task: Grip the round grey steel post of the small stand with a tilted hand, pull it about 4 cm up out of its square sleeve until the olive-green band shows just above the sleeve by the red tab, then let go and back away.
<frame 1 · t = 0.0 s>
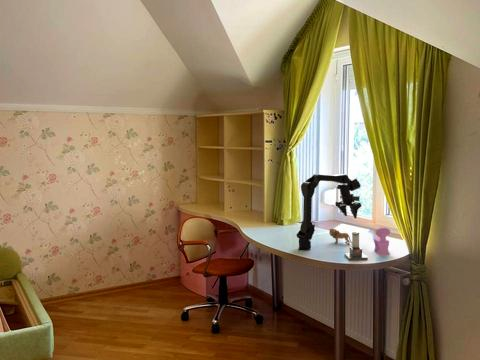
hand: (350, 217, 288), 15 cm above the table, tool pointing down, fingers open, 9 cm apart
lion figurine: (340, 243, 286), on the table
pink figurine: (381, 253, 261), on the table
stand base: (355, 257, 252), on the table
steel post: (355, 244, 251), point 8 cm above the table, slide at 0.0 cm
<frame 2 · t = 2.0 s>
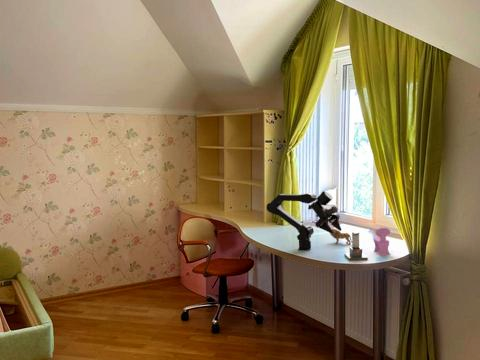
hand: (336, 231, 261), 13 cm above the table, tool tilted 45°, fingers open, 9 cm apart
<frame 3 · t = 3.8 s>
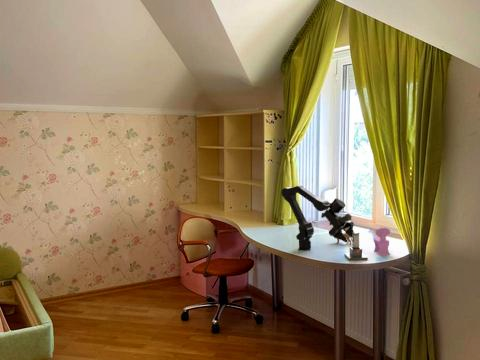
hand: (351, 240, 253), 9 cm above the table, tool tilted 45°, fingers open, 9 cm apart
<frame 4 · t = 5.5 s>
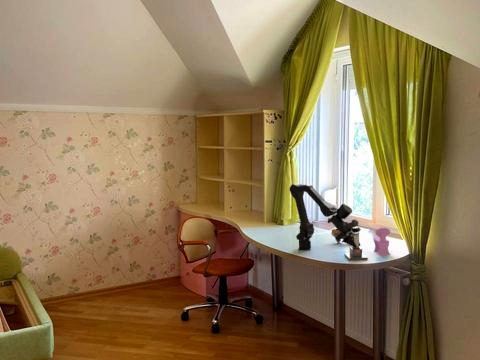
hand: (358, 246, 250), 7 cm above the table, tool tilted 45°, fingers closed on steel post, 4 cm apart
steel post: (355, 244, 251), point 8 cm above the table, slide at 0.0 cm, touching gripper
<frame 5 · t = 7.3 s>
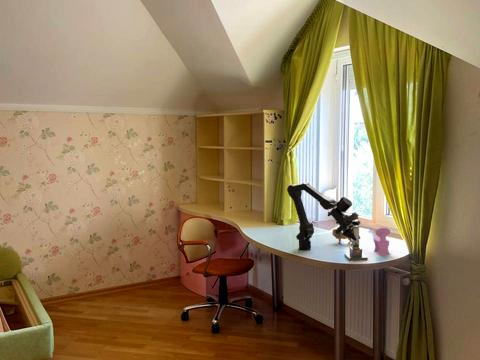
hand: (357, 239, 250), 10 cm above the table, tool tilted 45°, fingers closed on steel post, 4 cm apart
steel post: (355, 237, 251), point 12 cm above the table, slide at 3.8 cm, touching gripper
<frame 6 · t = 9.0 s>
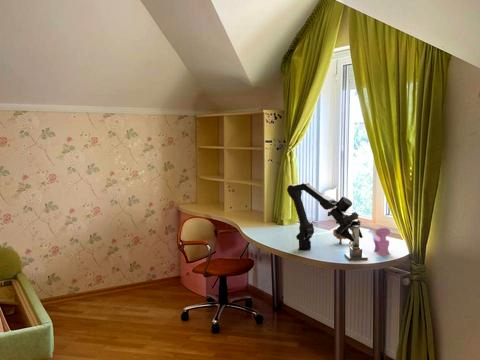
hand: (358, 239, 250), 11 cm above the table, tool tilted 45°, fingers open, 9 cm apart
steel post: (355, 237, 251), point 12 cm above the table, slide at 3.8 cm
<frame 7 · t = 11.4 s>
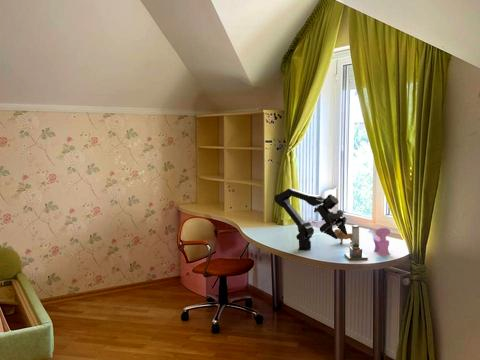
hand: (341, 236, 257), 11 cm above the table, tool tilted 40°, fingers open, 9 cm apart
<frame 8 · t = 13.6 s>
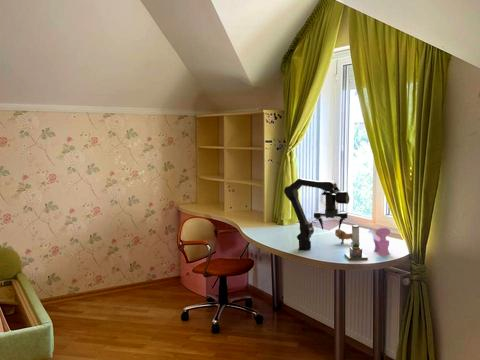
hand: (330, 229, 265), 13 cm above the table, tool pointing down, fingers open, 9 cm apart
at the end: steel post slide at 3.8 cm; the gripper is holding nothing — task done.
